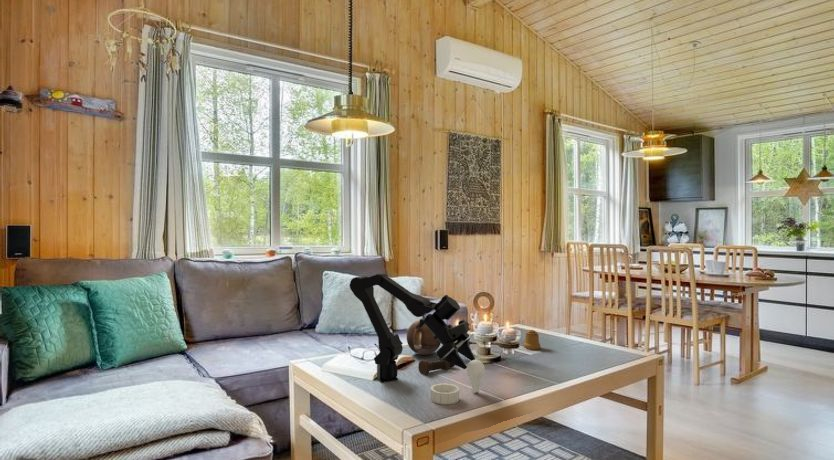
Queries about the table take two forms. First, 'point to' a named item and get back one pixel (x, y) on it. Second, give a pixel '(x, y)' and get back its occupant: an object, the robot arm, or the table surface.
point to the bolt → (433, 366)
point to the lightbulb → (475, 374)
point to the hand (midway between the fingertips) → (470, 364)
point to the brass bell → (532, 340)
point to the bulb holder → (444, 394)
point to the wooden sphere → (421, 339)
